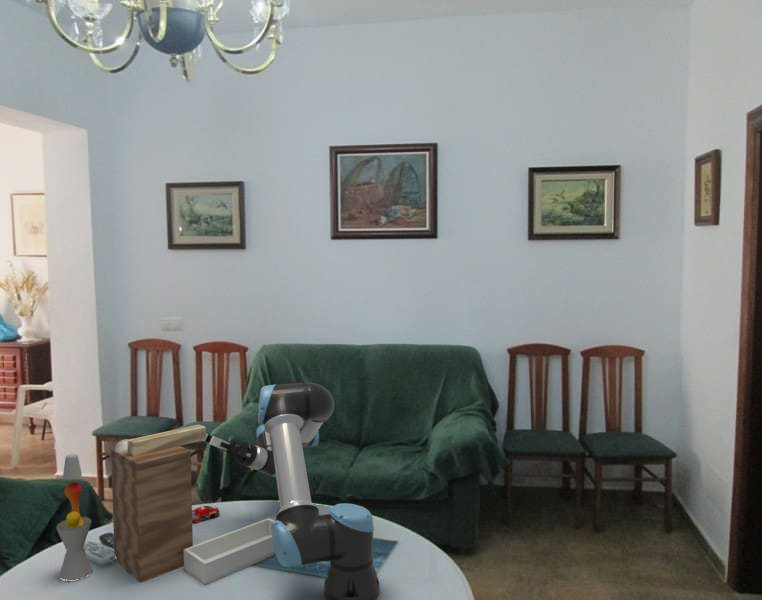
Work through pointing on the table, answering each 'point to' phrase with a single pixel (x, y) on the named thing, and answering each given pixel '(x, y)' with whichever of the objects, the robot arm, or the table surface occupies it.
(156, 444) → the wooden board
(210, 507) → the race car
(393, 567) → the table surface
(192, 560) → the tray
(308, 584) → the table surface
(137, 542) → the wooden block
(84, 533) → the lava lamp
